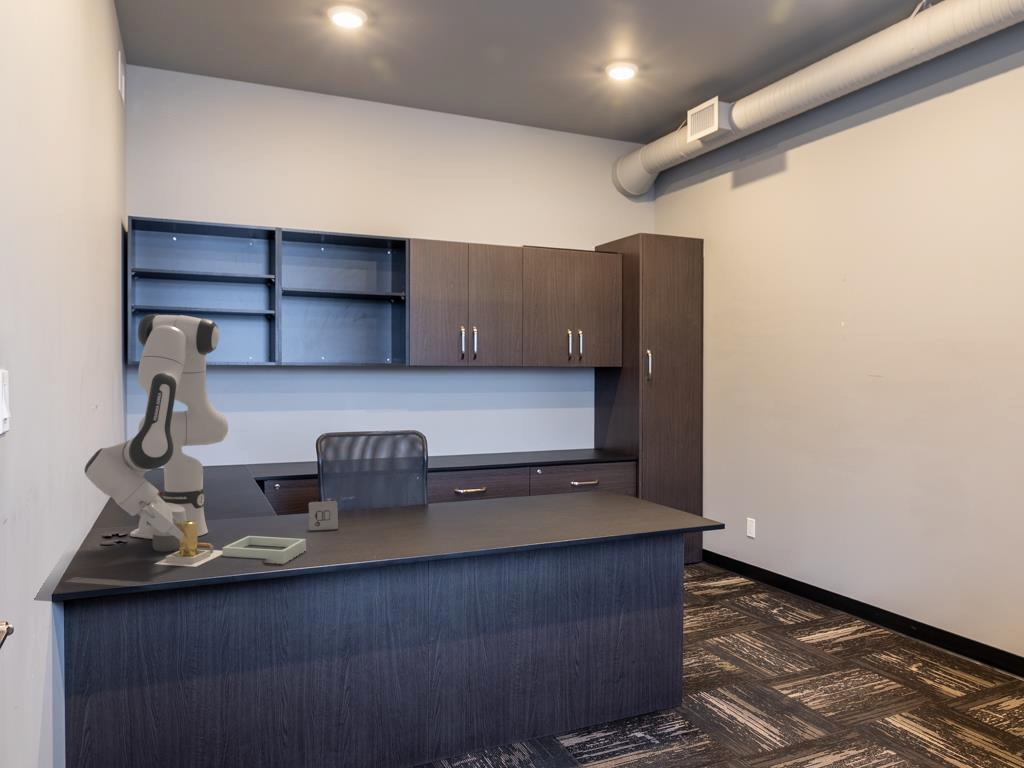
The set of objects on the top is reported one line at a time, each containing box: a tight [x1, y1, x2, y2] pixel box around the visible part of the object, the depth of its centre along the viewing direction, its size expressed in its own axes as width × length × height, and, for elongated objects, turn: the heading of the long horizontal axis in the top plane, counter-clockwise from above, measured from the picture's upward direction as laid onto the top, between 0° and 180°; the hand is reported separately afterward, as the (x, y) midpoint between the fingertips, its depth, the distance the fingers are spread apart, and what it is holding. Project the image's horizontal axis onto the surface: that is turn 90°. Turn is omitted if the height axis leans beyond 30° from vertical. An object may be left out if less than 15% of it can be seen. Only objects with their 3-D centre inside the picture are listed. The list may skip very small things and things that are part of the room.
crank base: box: [154, 542, 223, 567], centre depth 195 cm, size 12×16×4 cm
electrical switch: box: [308, 500, 339, 532], centre depth 237 cm, size 9×5×9 cm, turn 110°
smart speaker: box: [152, 502, 187, 553], centre depth 204 cm, size 10×9×14 cm
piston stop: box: [179, 521, 198, 557], centre depth 192 cm, size 4×4×10 cm
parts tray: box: [221, 535, 307, 565], centre depth 202 cm, size 18×14×4 cm
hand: (181, 533), depth 192 cm, fingers open, 8 cm apart
